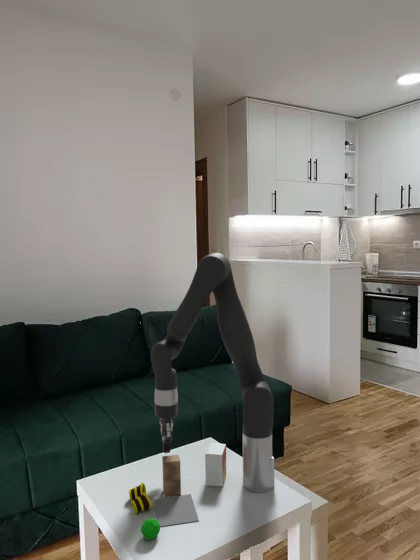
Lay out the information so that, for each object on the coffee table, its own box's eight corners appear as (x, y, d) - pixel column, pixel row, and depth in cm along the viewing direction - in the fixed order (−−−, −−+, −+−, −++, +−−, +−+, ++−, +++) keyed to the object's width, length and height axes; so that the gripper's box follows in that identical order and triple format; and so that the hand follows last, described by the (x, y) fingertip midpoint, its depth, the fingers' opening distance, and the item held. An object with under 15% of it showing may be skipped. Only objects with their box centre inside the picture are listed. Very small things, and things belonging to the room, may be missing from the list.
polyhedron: (137, 539, 114) (136, 522, 114) (149, 528, 119) (148, 512, 118) (152, 546, 112) (152, 528, 112) (164, 534, 116) (163, 517, 116)
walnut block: (179, 488, 138) (178, 454, 137) (180, 495, 134) (180, 460, 133) (163, 490, 137) (162, 456, 136) (164, 497, 133) (163, 462, 132)
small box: (222, 487, 138) (222, 455, 137) (205, 485, 139) (204, 453, 138) (226, 474, 146) (226, 443, 145) (210, 472, 147) (209, 442, 146)
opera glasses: (130, 500, 134) (126, 485, 133) (146, 493, 135) (143, 478, 134) (135, 519, 124) (131, 503, 124) (153, 511, 126) (149, 496, 125)
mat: (190, 494, 134) (190, 494, 134) (198, 521, 122) (198, 520, 122) (154, 499, 132) (154, 499, 132) (159, 527, 119) (159, 526, 119)
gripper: (180, 407, 137) (181, 460, 139) (174, 392, 150) (175, 441, 152) (156, 409, 135) (157, 463, 137) (152, 394, 148) (153, 443, 150)
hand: (166, 451), depth 144 cm, fingers closed
